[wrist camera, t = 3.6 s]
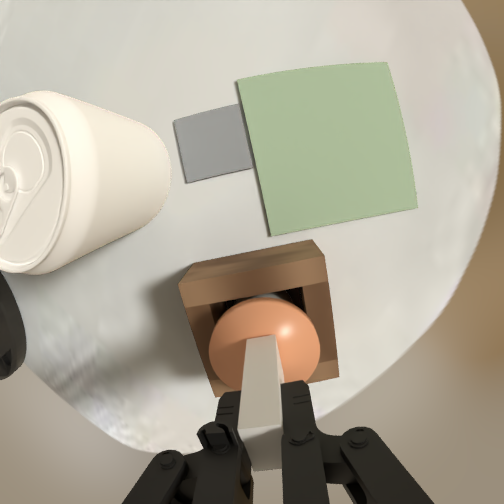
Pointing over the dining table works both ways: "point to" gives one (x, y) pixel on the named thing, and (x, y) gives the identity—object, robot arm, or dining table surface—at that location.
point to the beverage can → (73, 180)
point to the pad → (328, 145)
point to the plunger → (264, 324)
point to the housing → (256, 283)
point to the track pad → (213, 143)
